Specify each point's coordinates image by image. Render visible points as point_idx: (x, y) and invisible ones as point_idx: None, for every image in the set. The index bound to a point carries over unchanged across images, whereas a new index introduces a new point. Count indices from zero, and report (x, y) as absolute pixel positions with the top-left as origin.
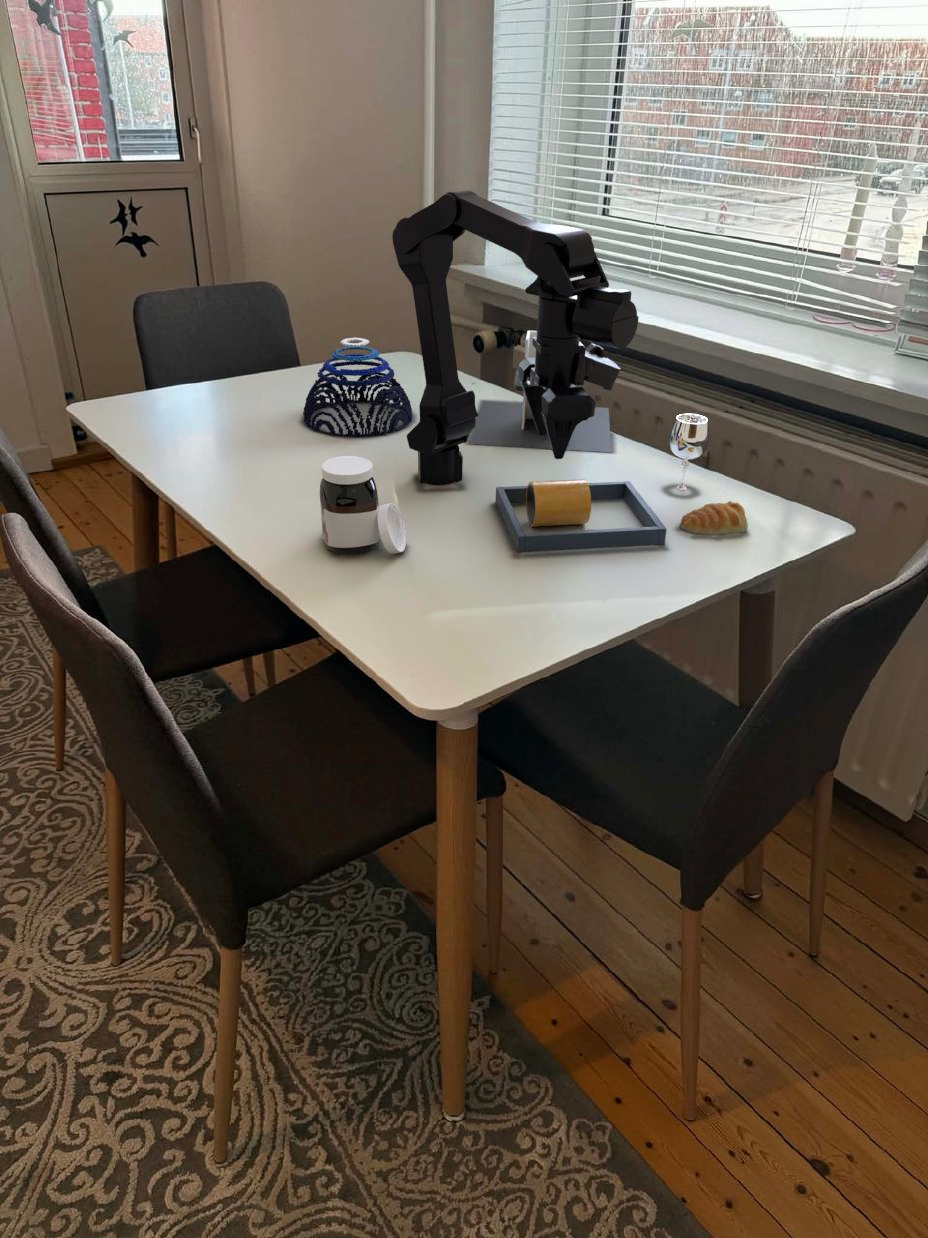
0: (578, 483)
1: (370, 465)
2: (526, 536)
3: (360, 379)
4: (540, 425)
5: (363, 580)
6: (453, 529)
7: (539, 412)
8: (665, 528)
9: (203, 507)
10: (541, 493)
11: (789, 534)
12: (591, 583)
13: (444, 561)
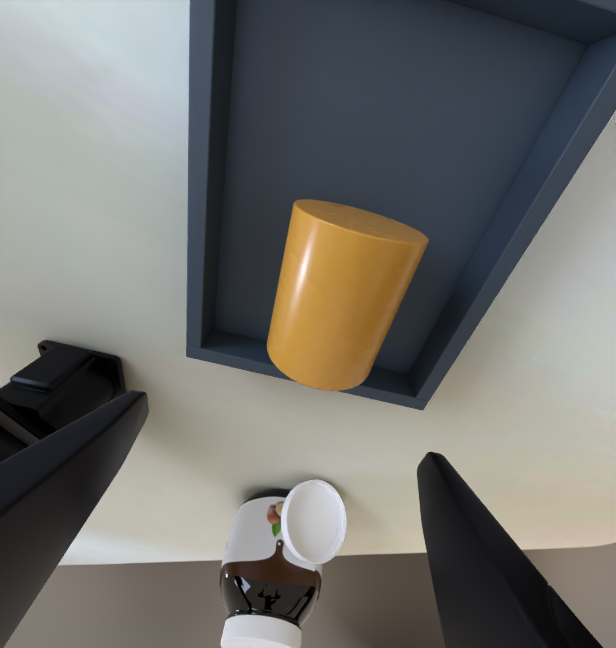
0: (370, 272)
1: (271, 642)
2: (429, 399)
3: None
4: (117, 454)
5: (370, 517)
6: (279, 417)
7: (53, 534)
8: None
9: (164, 555)
10: (358, 374)
11: None
12: (580, 320)
13: (370, 455)
